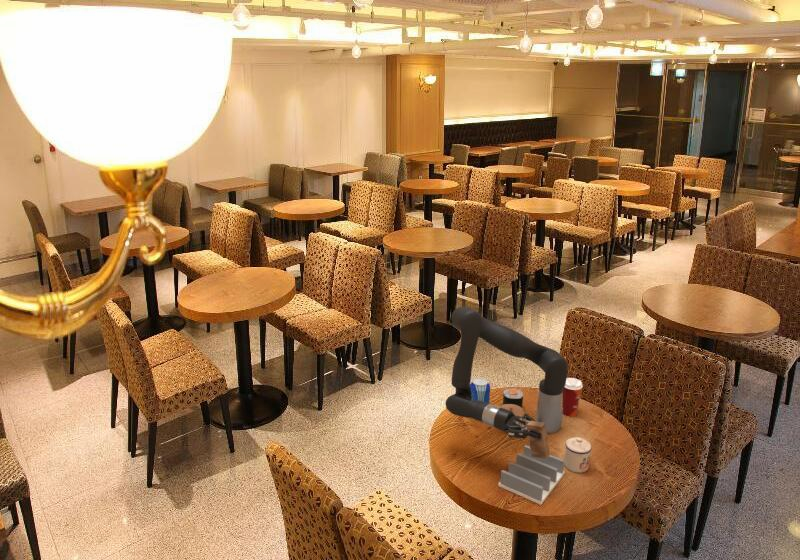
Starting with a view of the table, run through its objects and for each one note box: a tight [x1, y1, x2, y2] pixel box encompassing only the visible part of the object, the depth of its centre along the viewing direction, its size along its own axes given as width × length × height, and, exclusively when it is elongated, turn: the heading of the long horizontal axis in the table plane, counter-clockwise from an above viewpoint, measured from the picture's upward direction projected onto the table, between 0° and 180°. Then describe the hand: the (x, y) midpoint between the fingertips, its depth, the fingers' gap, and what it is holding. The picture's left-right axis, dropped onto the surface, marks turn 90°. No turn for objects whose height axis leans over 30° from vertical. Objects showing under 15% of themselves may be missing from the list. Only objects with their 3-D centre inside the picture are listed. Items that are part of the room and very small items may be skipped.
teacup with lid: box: [563, 436, 592, 474], centre depth 215 cm, size 12×9×12 cm
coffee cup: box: [561, 377, 583, 418], centre depth 246 cm, size 8×8×15 cm
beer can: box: [470, 377, 491, 404], centre depth 245 cm, size 8×8×16 cm
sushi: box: [502, 388, 524, 409], centre depth 252 cm, size 8×8×8 cm
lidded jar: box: [499, 404, 525, 417], centre depth 238 cm, size 11×11×9 cm
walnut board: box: [527, 420, 551, 459], centre depth 202 cm, size 6×3×12 cm, turn 52°
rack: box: [498, 445, 566, 506], centre depth 207 cm, size 16×20×6 cm
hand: (542, 434), depth 200 cm, fingers closed on walnut board, 2 cm apart
